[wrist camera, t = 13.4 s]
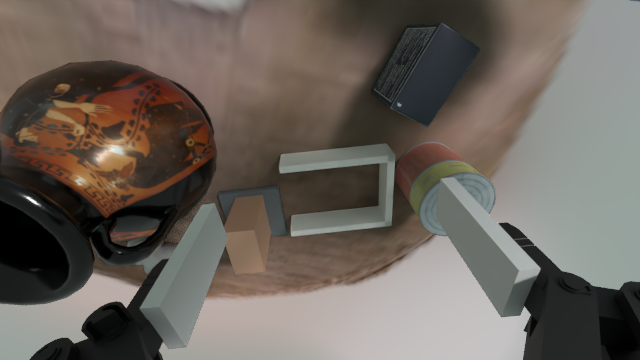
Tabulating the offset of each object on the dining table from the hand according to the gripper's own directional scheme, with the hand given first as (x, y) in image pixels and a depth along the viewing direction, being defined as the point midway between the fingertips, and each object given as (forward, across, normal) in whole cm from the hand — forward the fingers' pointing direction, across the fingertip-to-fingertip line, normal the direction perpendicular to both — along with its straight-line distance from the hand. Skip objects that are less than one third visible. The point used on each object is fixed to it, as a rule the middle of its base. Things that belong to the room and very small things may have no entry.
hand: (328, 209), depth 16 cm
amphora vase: (+30, -25, -2) cm, 39 cm away
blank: (+29, -15, -21) cm, 38 cm away
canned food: (+31, +18, -16) cm, 39 cm away
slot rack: (+30, +2, -17) cm, 34 cm away
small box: (+31, +14, +2) cm, 34 cm away
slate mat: (+30, -15, -21) cm, 39 cm away
